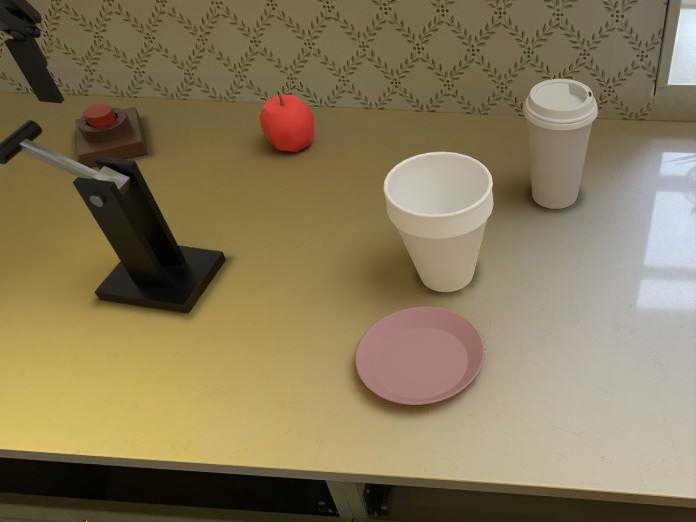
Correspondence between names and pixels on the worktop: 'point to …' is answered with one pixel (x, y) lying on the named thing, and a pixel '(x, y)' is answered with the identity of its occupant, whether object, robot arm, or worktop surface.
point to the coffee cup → (558, 139)
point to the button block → (111, 138)
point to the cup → (440, 214)
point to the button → (100, 115)
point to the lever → (55, 157)
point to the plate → (420, 355)
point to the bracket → (144, 245)
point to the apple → (287, 123)
